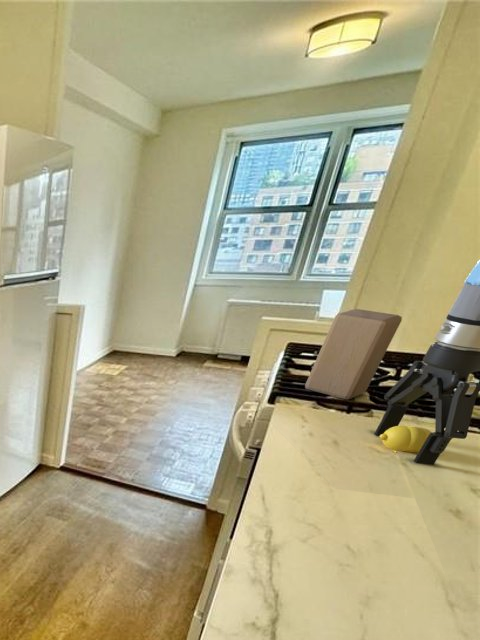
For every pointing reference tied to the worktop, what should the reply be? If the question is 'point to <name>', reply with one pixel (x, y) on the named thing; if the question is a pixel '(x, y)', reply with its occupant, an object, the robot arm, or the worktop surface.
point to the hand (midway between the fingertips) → (401, 449)
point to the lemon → (405, 438)
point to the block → (352, 352)
